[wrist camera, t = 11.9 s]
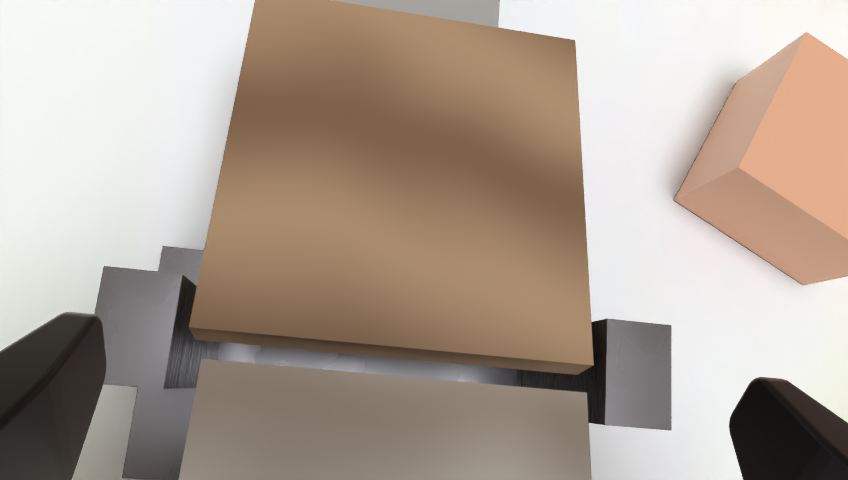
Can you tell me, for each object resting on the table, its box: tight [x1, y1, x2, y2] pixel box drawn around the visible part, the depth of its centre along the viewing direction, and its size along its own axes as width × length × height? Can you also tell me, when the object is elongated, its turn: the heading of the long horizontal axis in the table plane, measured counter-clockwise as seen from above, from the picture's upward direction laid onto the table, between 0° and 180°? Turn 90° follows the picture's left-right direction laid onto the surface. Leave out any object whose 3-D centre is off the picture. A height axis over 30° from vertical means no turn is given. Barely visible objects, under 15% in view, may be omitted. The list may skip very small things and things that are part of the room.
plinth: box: [674, 32, 848, 285], centre depth 24 cm, size 6×6×4 cm
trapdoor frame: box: [94, 246, 671, 480], centre depth 18 cm, size 7×14×8 cm, turn 84°
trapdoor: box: [179, 0, 594, 480], centre depth 16 cm, size 13×9×2 cm
